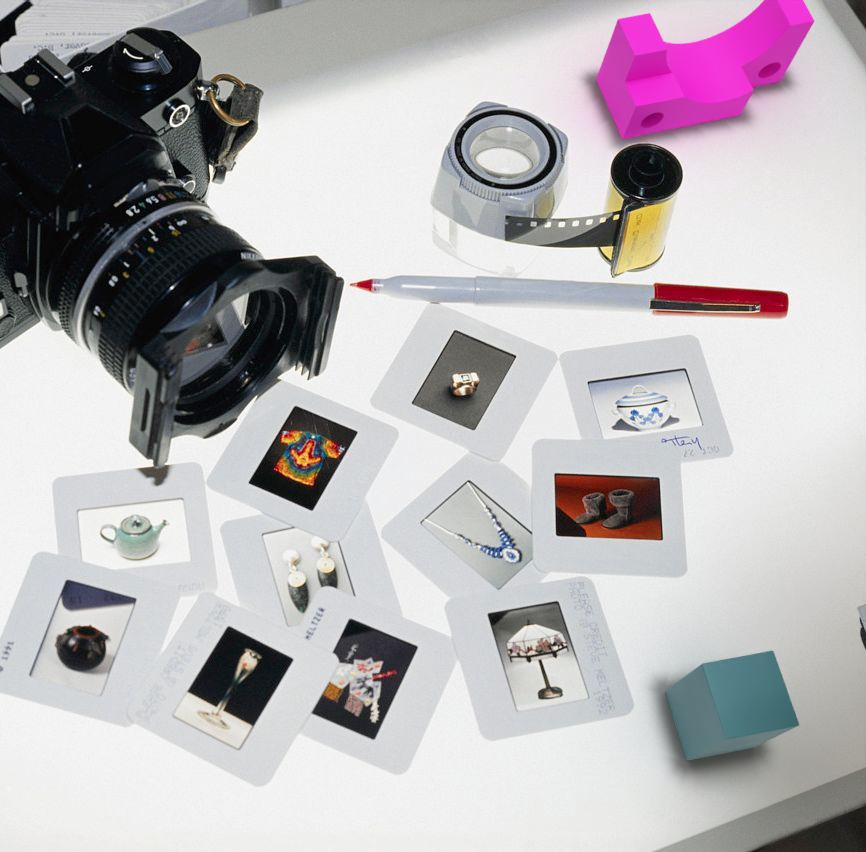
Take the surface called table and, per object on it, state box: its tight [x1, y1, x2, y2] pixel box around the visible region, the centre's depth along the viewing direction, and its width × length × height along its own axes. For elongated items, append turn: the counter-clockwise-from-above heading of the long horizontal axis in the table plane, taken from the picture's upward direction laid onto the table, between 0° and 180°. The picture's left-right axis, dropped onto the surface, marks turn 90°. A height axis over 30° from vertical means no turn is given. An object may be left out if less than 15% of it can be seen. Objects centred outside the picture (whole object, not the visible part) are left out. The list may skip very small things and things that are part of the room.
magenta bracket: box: [595, 0, 815, 140], centre depth 98 cm, size 15×6×8 cm, turn 104°
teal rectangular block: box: [664, 650, 800, 761], centre depth 77 cm, size 5×5×8 cm
